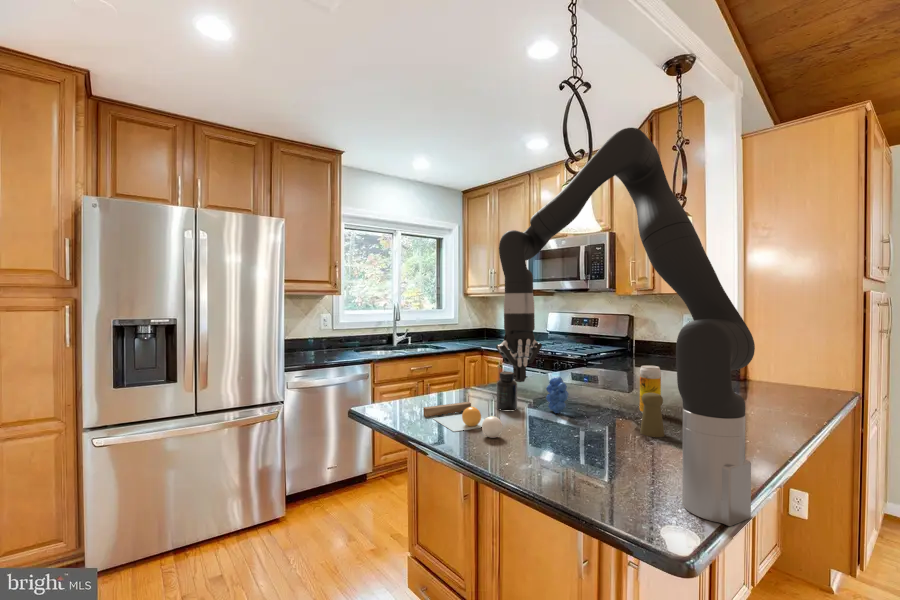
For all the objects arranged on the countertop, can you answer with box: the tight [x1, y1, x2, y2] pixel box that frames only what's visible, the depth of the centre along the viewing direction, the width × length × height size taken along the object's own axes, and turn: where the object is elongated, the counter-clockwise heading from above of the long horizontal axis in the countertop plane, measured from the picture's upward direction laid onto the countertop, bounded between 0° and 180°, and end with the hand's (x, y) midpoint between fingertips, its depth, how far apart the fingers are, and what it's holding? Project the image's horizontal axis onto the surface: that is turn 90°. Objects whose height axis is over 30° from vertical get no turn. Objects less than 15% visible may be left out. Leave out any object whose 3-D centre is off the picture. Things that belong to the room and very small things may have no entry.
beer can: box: [639, 364, 662, 415], centre depth 135 cm, size 6×6×15 cm
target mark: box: [432, 413, 486, 433], centre depth 125 cm, size 14×14×1 cm
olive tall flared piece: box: [639, 393, 665, 438], centre depth 115 cm, size 6×6×11 cm
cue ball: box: [481, 415, 504, 439], centre depth 111 cm, size 6×6×6 cm
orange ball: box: [461, 406, 482, 427], centre depth 121 cm, size 6×6×6 cm
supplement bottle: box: [496, 371, 518, 411], centre depth 140 cm, size 7×7×12 cm
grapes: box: [545, 376, 569, 414], centre depth 135 cm, size 12×7×12 cm, turn 14°
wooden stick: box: [422, 401, 472, 418], centre depth 135 cm, size 2×16×2 cm, turn 116°
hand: (519, 381), depth 105 cm, fingers closed
